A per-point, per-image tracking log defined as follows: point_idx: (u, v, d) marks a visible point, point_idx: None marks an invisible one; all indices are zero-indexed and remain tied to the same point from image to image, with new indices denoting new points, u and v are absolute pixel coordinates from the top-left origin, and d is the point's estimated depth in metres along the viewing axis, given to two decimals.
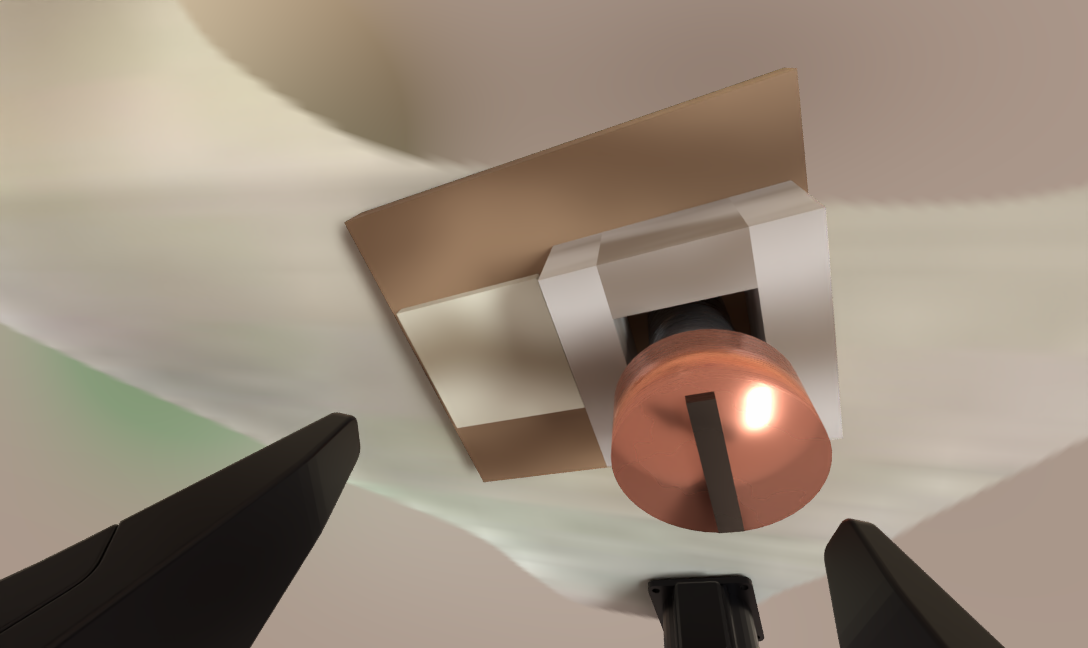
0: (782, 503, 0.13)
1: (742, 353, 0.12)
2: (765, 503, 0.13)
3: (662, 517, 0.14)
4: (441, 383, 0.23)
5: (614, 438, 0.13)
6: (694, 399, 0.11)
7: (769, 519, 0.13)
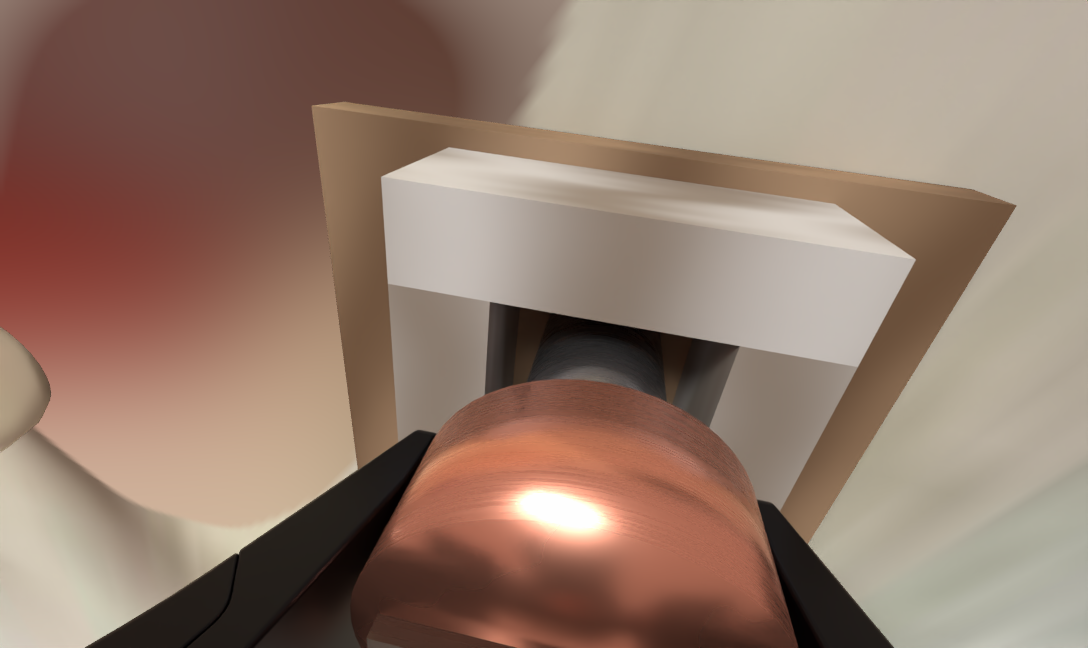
0: (743, 647, 0.05)
1: (408, 487, 0.07)
2: None
3: None
4: None
5: None
6: None
7: None
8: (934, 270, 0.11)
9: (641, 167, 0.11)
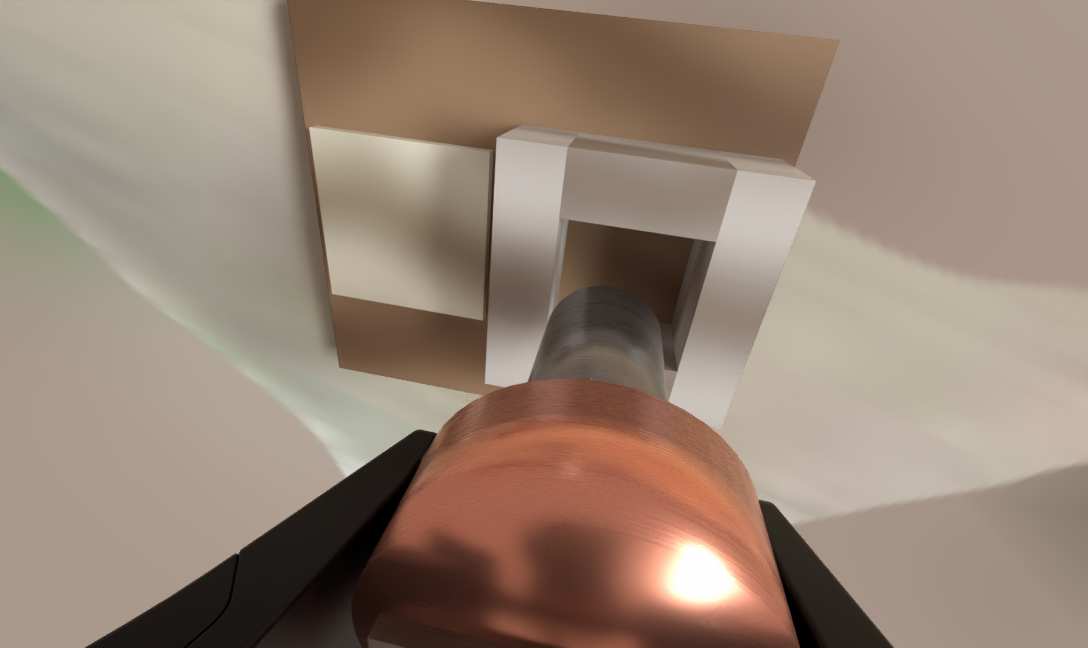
0: (744, 646, 0.05)
1: (410, 486, 0.07)
2: None
3: None
4: (333, 234, 0.20)
5: None
6: None
7: None
8: None
9: None
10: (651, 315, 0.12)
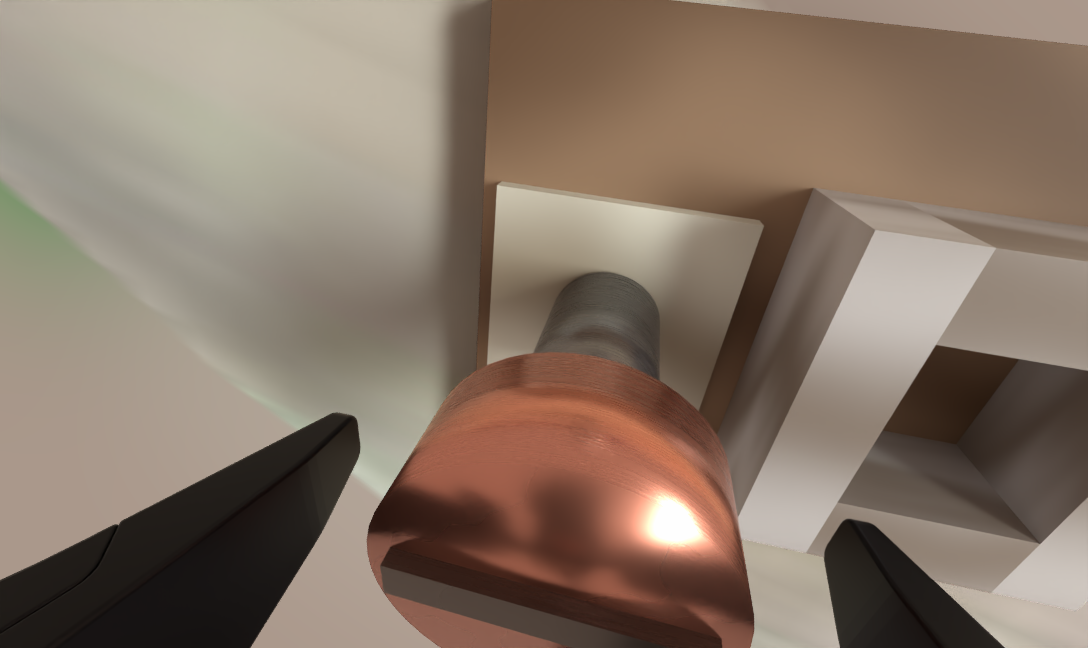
0: (697, 579, 0.06)
1: (418, 442, 0.07)
2: (682, 596, 0.06)
3: None
4: (502, 321, 0.15)
5: None
6: None
7: (735, 610, 0.06)
8: None
9: None
10: (650, 301, 0.13)
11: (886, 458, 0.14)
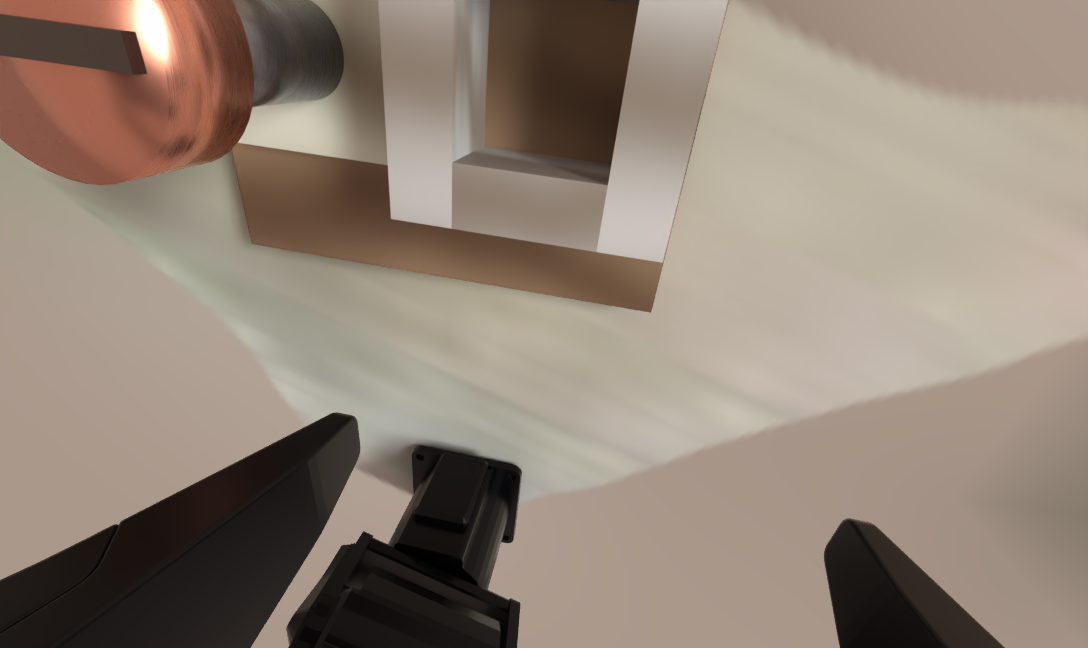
0: None
1: None
2: None
3: (151, 150, 0.10)
4: None
5: (27, 157, 0.10)
6: None
7: None
8: (615, 287, 0.19)
9: None
10: (319, 13, 0.15)
11: (533, 160, 0.16)
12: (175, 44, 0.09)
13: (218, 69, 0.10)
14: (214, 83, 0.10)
